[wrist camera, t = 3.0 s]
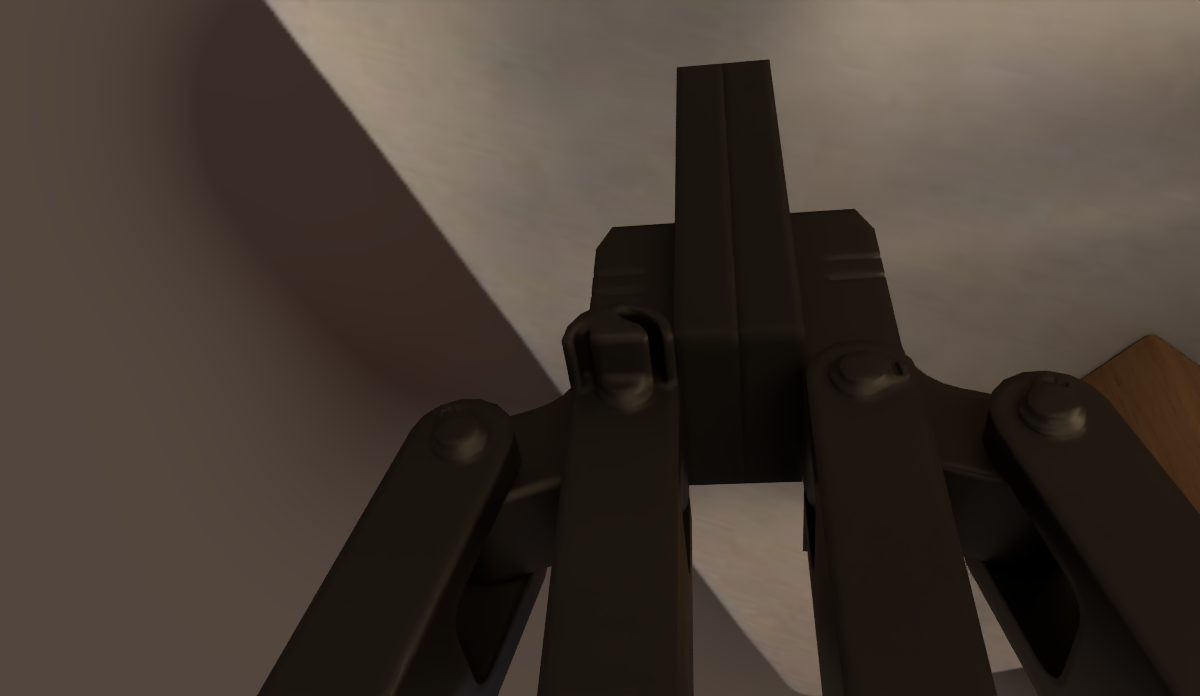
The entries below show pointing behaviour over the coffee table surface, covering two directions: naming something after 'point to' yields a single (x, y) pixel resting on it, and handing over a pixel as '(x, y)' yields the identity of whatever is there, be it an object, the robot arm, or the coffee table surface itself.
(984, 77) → the coffee table surface
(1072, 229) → the coffee table surface
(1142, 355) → the wooden block
